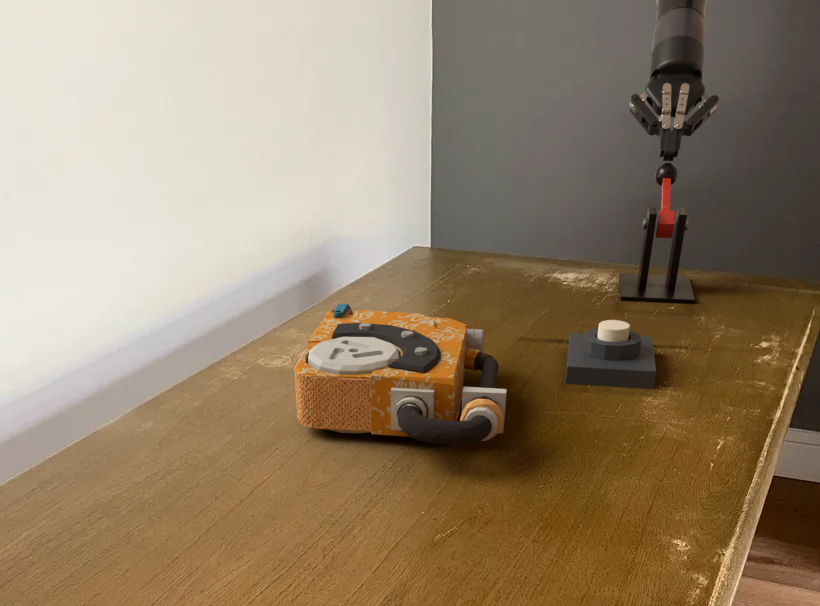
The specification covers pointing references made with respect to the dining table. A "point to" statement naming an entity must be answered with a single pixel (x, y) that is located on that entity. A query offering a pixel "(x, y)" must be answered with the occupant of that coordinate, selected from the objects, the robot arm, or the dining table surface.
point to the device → (398, 378)
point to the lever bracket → (659, 286)
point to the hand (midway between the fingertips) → (668, 157)
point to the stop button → (613, 331)
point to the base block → (610, 361)
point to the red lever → (665, 200)
